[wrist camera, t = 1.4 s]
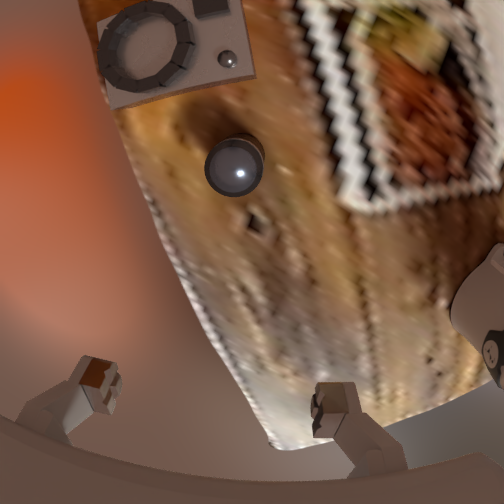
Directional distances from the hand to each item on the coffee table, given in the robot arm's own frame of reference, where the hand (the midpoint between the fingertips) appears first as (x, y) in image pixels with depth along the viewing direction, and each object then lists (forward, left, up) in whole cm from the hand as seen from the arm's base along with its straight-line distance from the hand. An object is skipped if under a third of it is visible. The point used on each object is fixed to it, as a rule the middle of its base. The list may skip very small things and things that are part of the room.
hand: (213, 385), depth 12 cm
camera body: (+4, -18, -26) cm, 31 cm away
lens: (0, -5, -26) cm, 26 cm away
